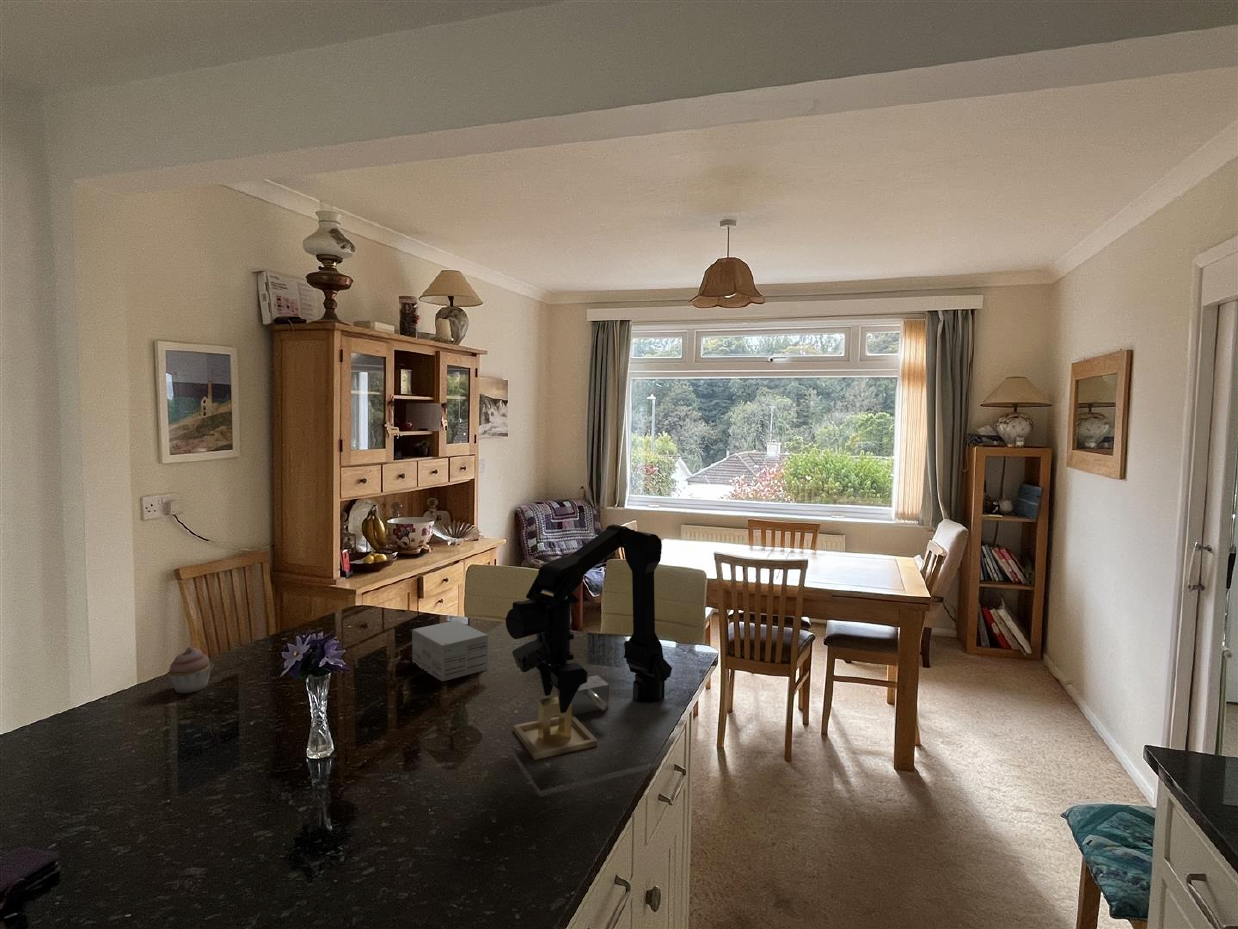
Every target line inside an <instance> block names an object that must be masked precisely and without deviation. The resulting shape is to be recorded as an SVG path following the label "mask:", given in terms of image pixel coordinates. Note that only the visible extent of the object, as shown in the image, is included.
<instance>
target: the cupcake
mask: <svg viewBox="0 0 1238 929" xmlns="http://www.w3.org/2000/svg"><path fill="white" fill-rule="evenodd" d="M213 667H214V663H211V662H210V659H209V657H208V655H206V654H205V653H203V652H202V651H201V649H198V648H195V647H190V646H188V647H187V648H186V649H185V651H183V652H181V653H180V654H177V656H176V657H175V658H174V659H173V662H171V664H170V666H169V669H168V671H167V672H166V675H167V676H168V677H169V679H171V682H172V683H171V684H172V686H173V688H174V690H175V692H176V693H177V694H178V693H179V694H190V693H191V694H192V693H196V692H199V691H202V690H204V689H205V688H206V687H207V686H208V684H209V683H208V682H209V679H210V675H211V672H212V671H213Z"/></svg>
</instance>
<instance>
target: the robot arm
mask: <svg viewBox="0 0 1238 929" xmlns="http://www.w3.org/2000/svg"><path fill="white" fill-rule="evenodd" d="M620 548H622V549H623V552H624V553H623V554H624V560H625V561H626V563H627V565H628V568H630V570H631V584H632V585H631V586H632V587H631V588H632V628H633V629H632V630H633V631H632V634H631V635H630V637H629V639H628V640H625V641H624V642H623V647H624V654H623V658H624V659H625V661H626V664H627V666H628V668H629V671H630V672H631V673H633V674H634V680H633V682H632V699H633V700H635V701H636V702H637V703H648V704H653V703H658V702H660V701H661V700H662V699H665V693H666V692H665V687H666V686H665V684H666V683H665V682H666V681H667V680H668V678H671V674H672V672H673V671H672V670H673V667H672V666H671V665H670V663H669V662H668V661H667V660H666V659H665V658H664V651H663V644H662V642H661V641H660V639H659V637H658V636H657V634H656V622H655V621H656V619H655V618H656V616H655V614H656V611H655V610H656V607H655V605H656V604H655V571H656V569H657V567H658V565H659V564H660V562H661V558H662V549H663V543H662V539H661V538H660V537H659V536H658V535H657V534H655V533H650V532H644V531H640V530H639V531H638V530H633V529H632V528H629V527H627V526H626V525H625V526H624V525H620V524H610V525H608V526H607V527H606V528H605V530H603V531H601V532H600V533H599V534H598V535H597V536H595V537H594V538H592V539H590V541H588V542H587V543H585V544H584V545H582V546H581V547H579V548H578V549H576V550H575V551H574V552H572V553H571V554H569V555H567V556H562V557H559V558H555V559H552V560H550V561H548V562H545V563H544V564H543V565H542V566H540V568H539V569H538V572H537V575H536V577H535V579H534V580H533V583H532V585H531V586H530V587H529V590H528V592H527V593H526V596H525V598H526V599H527V600H522V601H521V600H517V601H513V602H512V608H511V609H510V610H509V611H508V612H507V614H506V617H505V626H506V627H505V628H506V629H507V633H508V635H509V636H510V637H511V638H513V639H514V640H520V639H524V638H527V637H531V636H534V635H536V639H534V640H532V641H529V642H527V643H525V644H522V645H521V646H519V647H517V648H515V649H514V650H512V651H511V652H512V657H513V660H514V662H515V664H516V667H517V668H518V669H520V672H522V673H527V672H529V671H531V670H532V669H535V668H536V669H537V671H538V676H539V678H540V683H541V687H542V690H543V694H544V696H546V697H548V696H551V693H552V692H553V687H554V688H555V689H556V693H557V692H558V700H559V707H560V712H561V713H565V712H566V711H567V709H568V707H569V705H570V703H571V701H572V699H573V697H574V696H575V694H576V692H577V690H578V689H579V687H580V685H582V684H584V683H587V682H588V677H589V675H588V672H589V671H587V670H586V669H585V668H584V667H583V666H582V665H580V664H579V663H578V662H576V661H575V662H568V661H571V660H574V656H575V654H574V653H572V652H571V640H574V639H575V634H574V633H573V632H572V631H571V614H572V613H571V611H572V609H571V605H574V604H579V602H580V599H579V598H578V597H577V596H576V595H575V594H574V592H575V591H576V590H577V588H579V586H580V585H581V584H582V582H583V581H584V580H583V579H584V577H585V575H587V573H588V572H589V571H590V570H592V569H593V568H595V567H596V566H597V565H599V564H601V562H603V561H604V560H605V559H606V558H608V557H610V555H612V554H613V553H615V552H616V551H617V550H619V549H620ZM543 592H545V593H543ZM546 593H550V594H551V595H549V594H546Z"/></svg>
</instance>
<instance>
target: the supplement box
mask: <svg viewBox="0 0 1238 929" xmlns="http://www.w3.org/2000/svg"><path fill="white" fill-rule="evenodd" d="M411 631H412V632H411V633H412V637H411V638H412V640H411V642H412V647H411V648H412V663H413V662H414V663H416V664H417V665H418V668H421V670H423V669H424V670H423V671H425V672H426V671H427V672H426V673H428V674H430V675H431V676H432V677H435V679H438V680H439V681H440V682H445V681H449V680H454V679H457V678H460V677H465V676H468V675H472V674H477V673H480V672H483V671H487V670H489V660H488V659H489V635H488V634H487V633H484V632H482V631H480V630H478V629H476V628H473V627H471V626H469V625H468V624H465V623H463V622H461V621H458V620H457V619H456V620H451V621H447V622H445V621H444V622H442V623H436V624H432V625H427V626H426V625H425V626H422V627H417V628H413V629H412V630H411ZM414 663H413V664H414ZM417 665H416V666H417Z"/></svg>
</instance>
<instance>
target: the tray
mask: <svg viewBox="0 0 1238 929" xmlns="http://www.w3.org/2000/svg"><path fill="white" fill-rule="evenodd" d="M555 726H559V715H558V716H553V717H551V726H550V727H555ZM512 729H513V731H514V733H515V735H516V736H517V738H518V739H519V740H520V742H521V744H523V745H524V748H526V750H527V751H528V753H529V754H530V755H531V757H532V758H533V759H534V761H536V760H540V759H543V758H549V757H554V756H559V755H563V754H566V753H571V752H576V751H581V750H584V749H588V748H593V747H598V739H597V738H596V737H595V736H594V735H593V734H592V733H591V732H590V731H589V730H588V729H587V728H586V726H584V724H583V723H581V722H580V720H579V719H578V718H577V717H576V716H575V715H573V714H572V724H571V738H568V739H563V740H559V741H554V742H550V743H545V744H543V743H542V742H541V740H540V739H539V738H538V720H533V721H528V722H524V723H518V724H514V725H513V726H512Z"/></svg>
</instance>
